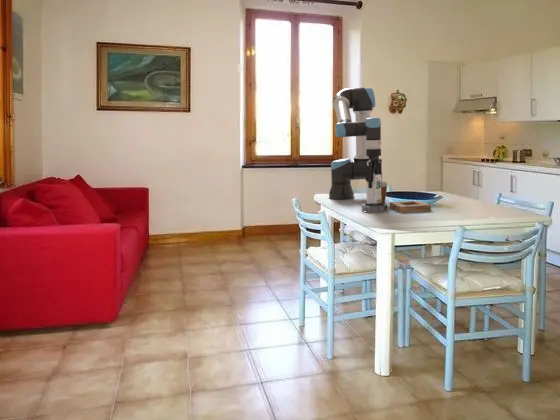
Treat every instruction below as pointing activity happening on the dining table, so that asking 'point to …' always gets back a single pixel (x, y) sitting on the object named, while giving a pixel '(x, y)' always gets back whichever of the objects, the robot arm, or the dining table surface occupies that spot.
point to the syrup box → (375, 190)
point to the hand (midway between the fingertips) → (374, 193)
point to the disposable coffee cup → (383, 191)
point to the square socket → (410, 206)
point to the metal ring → (374, 207)
